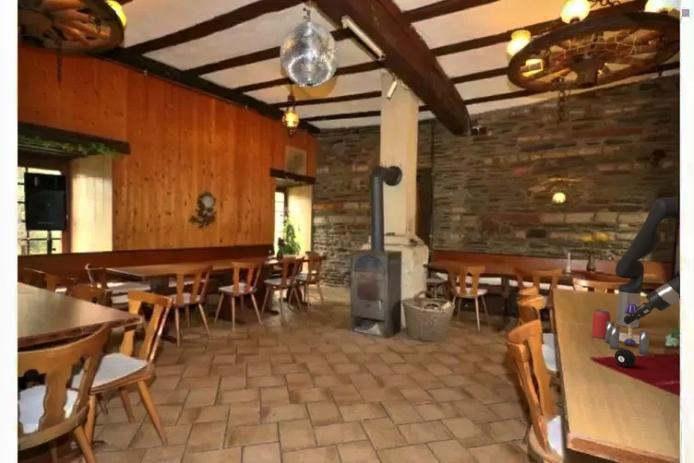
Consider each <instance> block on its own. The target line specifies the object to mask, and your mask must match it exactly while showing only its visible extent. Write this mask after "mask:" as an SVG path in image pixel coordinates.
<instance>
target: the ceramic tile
mask: <svg viewBox="0 0 694 463" xmlns="http://www.w3.org/2000/svg"><path fill="white" fill-rule="evenodd" d="M628 336H629V335H628V333H625V332H623V333H622V332H620V333H619V342H624V341H625V340H626V339H628ZM639 338H640V335H638V334H633V340H634V341H635V342H636V345H637V344H638V345H639Z"/></svg>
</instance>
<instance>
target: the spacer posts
mask: <svg viewBox="0 0 694 463" xmlns="http://www.w3.org/2000/svg"><path fill="white" fill-rule="evenodd" d="M620 327H621V326H619V325H616V324H615V321H612V320H610V321H606V334H605V339H604V343H606V344H609V349H611V350H614V351H618V350H619V348H620V347H619V346H620V341H619V333H621V332H620V331H621V328H620ZM639 336H640V338H639V344H638V354H639V355H643V356H649V347H650V331H649V330H645V329H644V330H642V329H640V330H639Z"/></svg>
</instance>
